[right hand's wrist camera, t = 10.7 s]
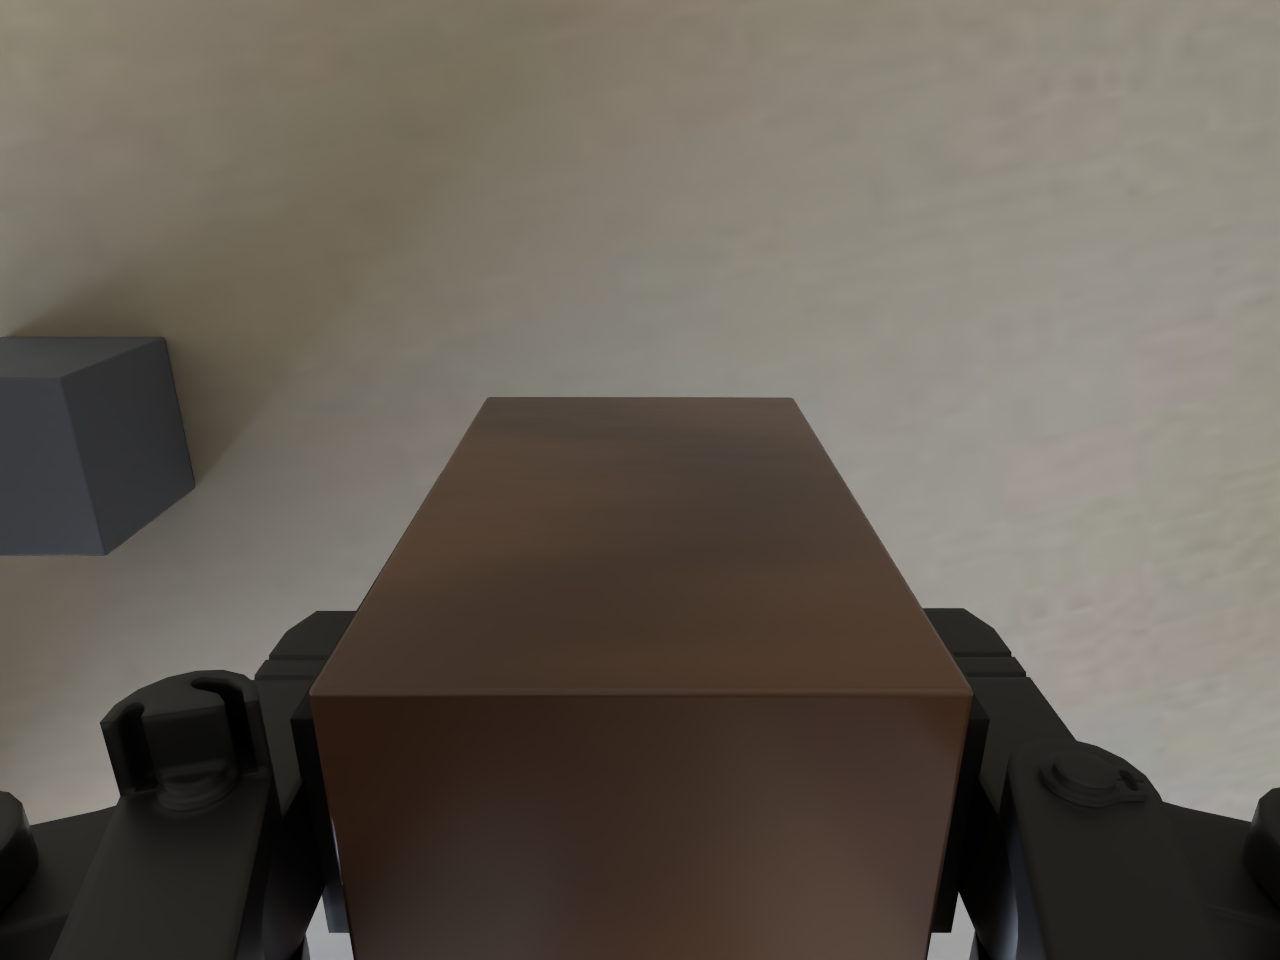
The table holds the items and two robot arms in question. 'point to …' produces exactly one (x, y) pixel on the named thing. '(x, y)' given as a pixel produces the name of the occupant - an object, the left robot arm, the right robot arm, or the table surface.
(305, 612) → the table surface
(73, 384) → the slate grey block
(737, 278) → the table surface
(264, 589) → the table surface
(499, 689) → the brown rectangular block
